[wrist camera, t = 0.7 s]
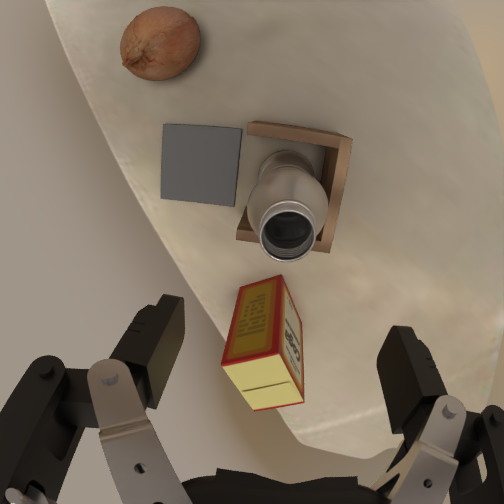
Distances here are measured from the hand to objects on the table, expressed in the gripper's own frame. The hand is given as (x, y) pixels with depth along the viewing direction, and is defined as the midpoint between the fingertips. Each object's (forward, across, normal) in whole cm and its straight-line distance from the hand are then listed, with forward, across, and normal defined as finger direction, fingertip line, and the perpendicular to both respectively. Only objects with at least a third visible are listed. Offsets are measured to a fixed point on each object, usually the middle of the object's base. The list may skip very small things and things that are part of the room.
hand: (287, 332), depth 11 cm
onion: (+29, +16, -15) cm, 37 cm away
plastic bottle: (+29, 0, 0) cm, 29 cm away
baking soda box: (+29, -1, +20) cm, 35 cm away
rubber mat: (+29, +11, 0) cm, 31 cm away
